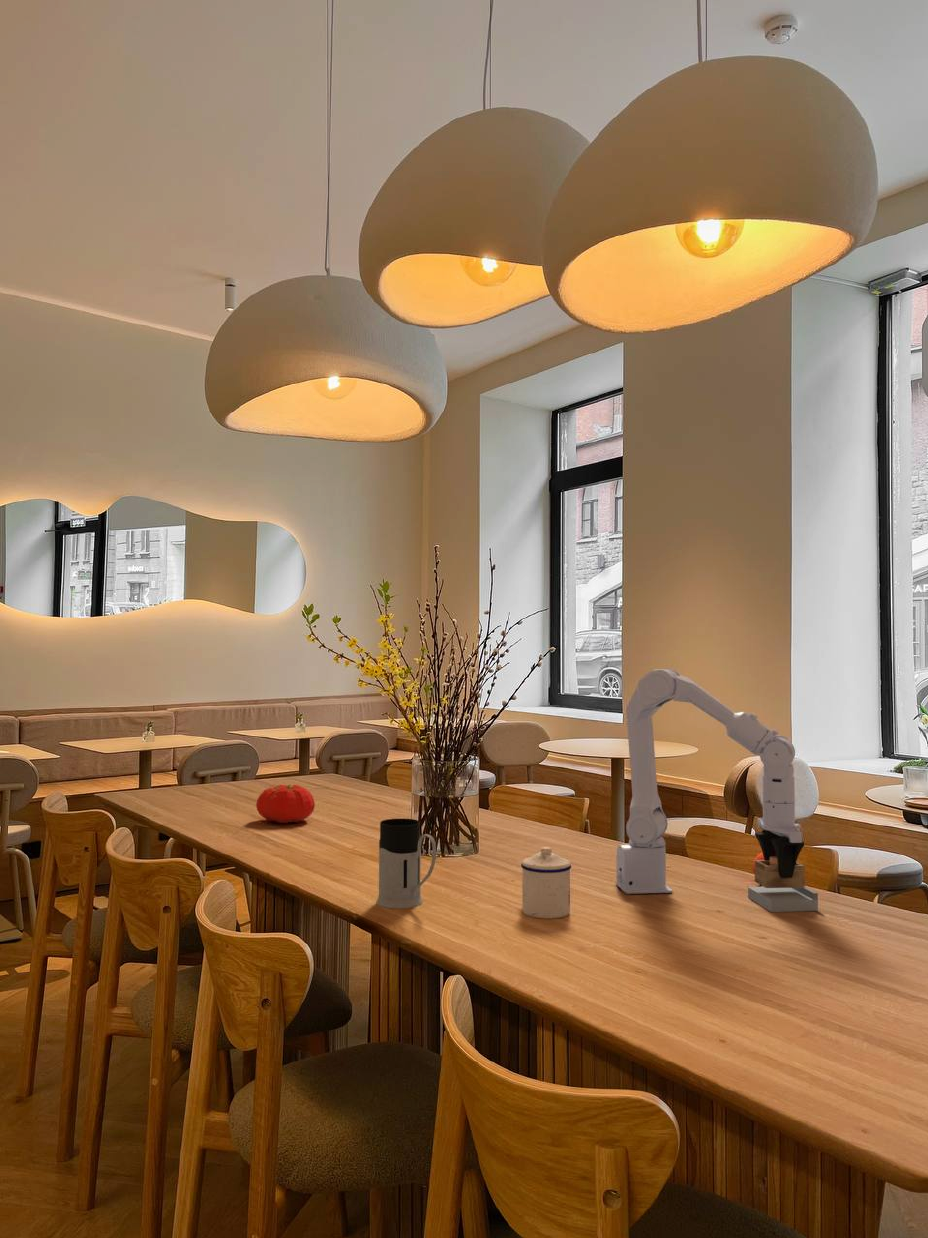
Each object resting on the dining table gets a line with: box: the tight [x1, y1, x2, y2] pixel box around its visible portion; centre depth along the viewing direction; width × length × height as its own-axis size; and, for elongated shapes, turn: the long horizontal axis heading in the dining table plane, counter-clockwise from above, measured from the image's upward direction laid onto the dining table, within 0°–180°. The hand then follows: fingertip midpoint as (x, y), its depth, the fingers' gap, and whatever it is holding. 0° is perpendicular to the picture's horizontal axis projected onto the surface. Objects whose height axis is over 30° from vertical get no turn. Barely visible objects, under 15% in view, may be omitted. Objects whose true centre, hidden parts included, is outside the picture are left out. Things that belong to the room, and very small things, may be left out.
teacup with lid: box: [520, 846, 572, 920], centre depth 167 cm, size 12×9×12 cm
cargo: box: [770, 856, 778, 865], centre depth 172 cm, size 3×3×2 cm
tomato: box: [255, 784, 316, 824], centre depth 254 cm, size 14×16×10 cm
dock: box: [747, 886, 819, 913], centre depth 172 cm, size 9×10×3 cm
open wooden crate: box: [754, 860, 806, 888], centre depth 172 cm, size 8×5×4 cm, turn 96°
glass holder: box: [375, 818, 437, 910], centre depth 171 cm, size 9×14×15 cm, turn 44°
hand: (779, 873), depth 172 cm, fingers closed on open wooden crate, 5 cm apart
